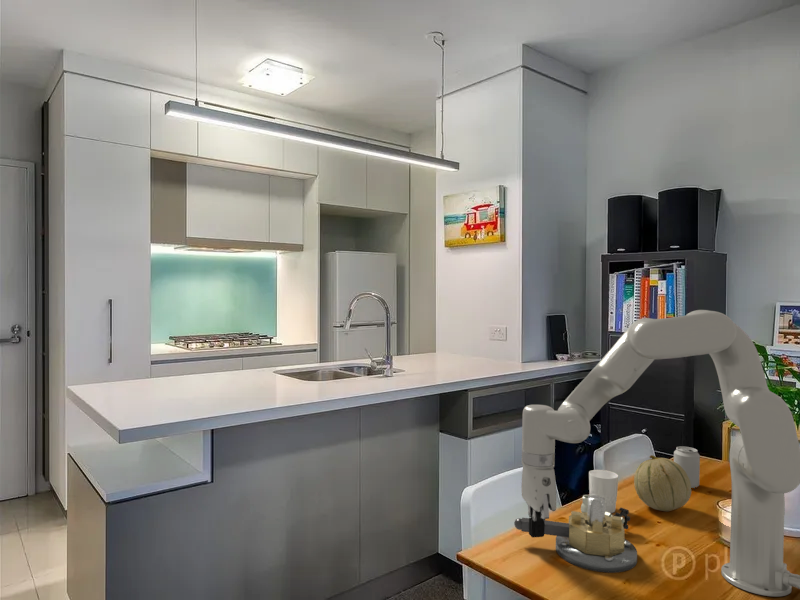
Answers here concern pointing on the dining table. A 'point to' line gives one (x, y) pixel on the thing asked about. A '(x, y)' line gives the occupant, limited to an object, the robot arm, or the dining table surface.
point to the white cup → (604, 487)
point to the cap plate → (592, 561)
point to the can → (689, 463)
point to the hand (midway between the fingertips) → (536, 535)
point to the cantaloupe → (662, 484)
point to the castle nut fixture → (585, 533)
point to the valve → (623, 511)
